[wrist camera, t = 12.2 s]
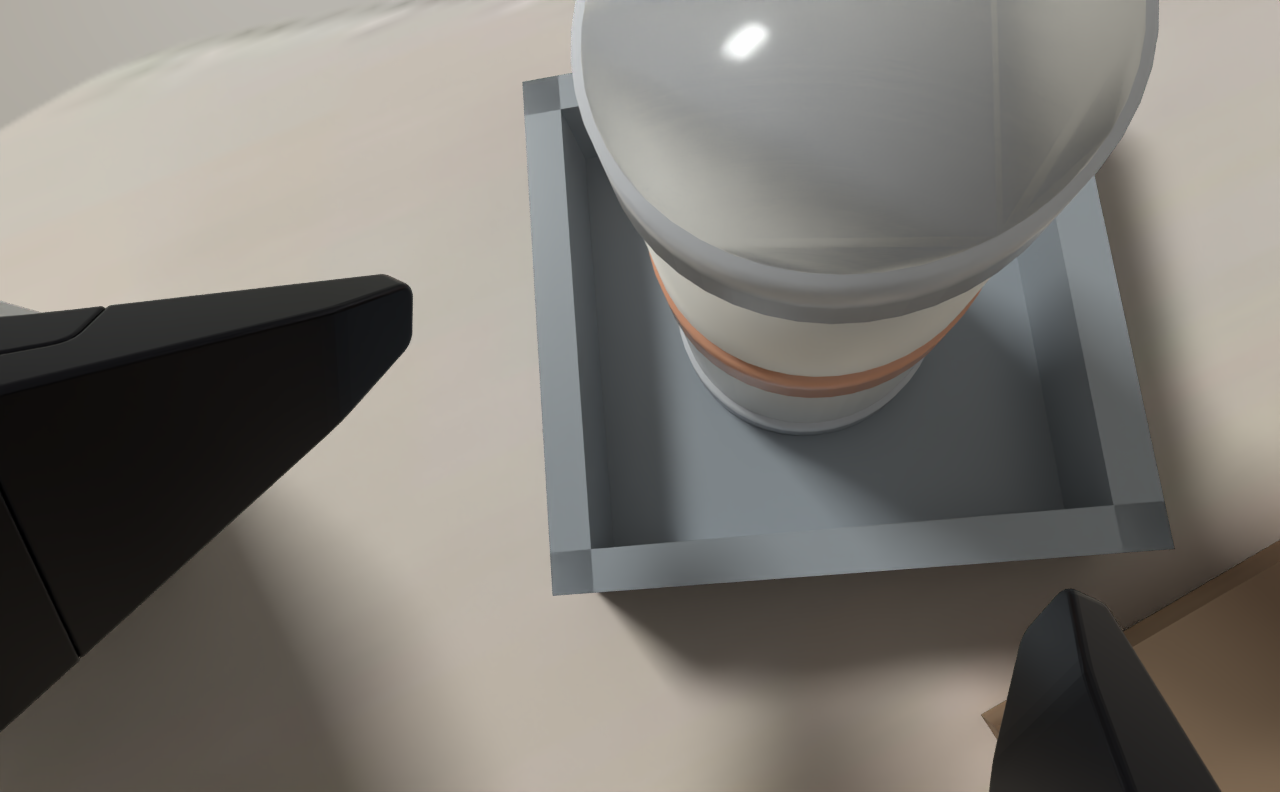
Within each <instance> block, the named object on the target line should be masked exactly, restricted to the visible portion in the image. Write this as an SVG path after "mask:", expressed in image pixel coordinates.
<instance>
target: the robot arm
mask: <svg viewBox="0 0 1280 792" xmlns="http://www.w3.org/2000/svg"><path fill="white" fill-rule="evenodd" d="M412 316H413V294H412V290H411V288H410V287H409V286H408V285H407V284H406V283H404V282H402V281H400V280H397V279H395V278H393V277H391V276H388V275H384V274H379V275H370V276H361V277H353V278H344V279H335V280H327V281H318V282H309V283H301V284H292V285H283V286H274V287H266V288H257V289H248V290H240V291H231V292H222V293H214V294H205V295H196V296H188V297H179V298H170V299H161V300H153V301H144V302H135V303H127V304H118V305H110V306H108V307H107V308H104V307H102V306H99V307H91V308H82V309H74V310H64V311H54V312H45V313H35V314H25V315H13V316H0V732H1V731H2V730H3V729H4V728H6V727H7V726H8V725H9V724H10V723H11V722H12V721H13V720H14V719H15V718H17V717H18V716H19V715H20V714H21V713H22V712H23V711H24V710H25V709H26V708H28V707H29V706H30V705H31V704H32V703H33V702H34V701H35V700H36V699H38V698H39V697H40V696H41V695H42V694H43V693H44V692H45V691H46V690H47V689H49V688H50V687H51V686H52V685H53V684H54V683H55V682H56V681H57V680H58V679H60V678H61V677H62V676H63V675H64V674H65V673H66V672H67V671H68V670H70V669H71V668H72V667H73V666H74V665H75V664H76V663H77V662H78V661H79V659H80V658H79V657H83V656H84V655H85V654H87V653H88V652H89V651H90V650H91V649H92V648H93V647H94V646H95V645H96V644H98V643H99V642H100V641H101V640H102V639H103V638H104V637H105V636H106V635H108V634H109V633H110V632H111V631H112V630H113V629H114V628H115V627H116V626H117V625H119V624H120V623H121V622H122V621H123V620H124V619H125V618H126V617H127V616H128V615H130V614H131V613H132V612H133V611H134V610H135V609H136V608H137V607H138V606H139V605H141V604H142V603H143V602H144V601H145V600H146V599H147V598H148V597H149V596H150V595H152V594H153V593H154V592H155V591H156V590H157V589H158V588H159V587H160V586H162V585H163V584H164V583H165V582H166V581H167V580H168V579H169V578H170V577H171V576H173V575H174V574H175V573H176V572H177V571H178V570H179V569H180V568H181V567H182V566H184V565H185V564H186V563H187V562H188V561H189V560H190V559H191V558H192V557H193V556H195V555H196V554H197V553H198V552H199V551H200V550H201V549H202V548H203V547H205V546H206V545H207V544H208V543H209V542H210V541H211V540H212V539H213V538H214V537H216V536H217V535H218V534H219V533H220V532H221V531H222V530H223V529H224V528H225V527H227V526H228V525H229V524H230V523H231V522H232V521H233V520H234V519H235V518H236V517H238V516H239V515H240V514H241V513H242V512H243V511H244V510H245V509H246V508H247V507H249V506H250V505H251V504H252V503H253V502H254V501H255V500H256V499H257V498H259V497H260V496H261V495H262V494H263V493H264V492H265V491H266V490H267V489H268V488H270V487H271V486H272V485H273V484H274V483H275V482H276V481H277V480H278V479H279V478H281V477H282V476H283V475H284V474H285V473H286V472H287V471H288V470H289V469H290V468H292V467H293V466H294V465H295V464H296V463H297V462H298V461H299V460H300V459H301V458H303V457H304V456H305V455H306V454H307V453H308V452H309V451H310V450H311V449H313V448H314V447H315V446H316V445H317V444H318V443H319V442H320V441H321V440H322V439H324V438H325V437H326V436H327V435H328V434H329V433H330V432H331V431H332V430H333V429H334V428H335V427H336V426H337V425H338V424H339V423H341V422H342V420H343V419H344V418H345V417H346V416H347V415H348V414H349V413H350V412H351V411H352V410H353V409H354V408H355V407H356V405H357V404H358V403H359V402H360V401H361V400H362V399H363V397H364V396H365V395H366V394H367V393H368V392H369V391H370V390H371V388H372V387H373V386H374V385H375V384H376V383H377V382H378V381H379V379H380V378H381V377H382V376H383V375H384V374H385V373H386V372H387V370H388V369H389V368H390V367H391V366H392V365H393V364H394V363H395V361H396V360H397V359H398V358H399V357H400V356H401V355H402V353H403V352H404V351H405V350H406V348H407V347H408V345H409V343H410V341H411V337H412ZM989 792H1222V791H1221V790H1220V788H1219V786H1218V785H1217V783H1216V781H1215V780H1214V778H1213V777H1212V775H1211V773H1210V772H1209V770H1208V768H1207V767H1206V765H1205V764H1204V762H1203V760H1202V759H1201V757H1200V756H1199V754H1198V752H1197V751H1196V749H1195V747H1194V746H1193V744H1192V743H1191V741H1190V739H1189V738H1188V736H1187V735H1186V733H1185V731H1184V730H1183V728H1182V726H1181V725H1180V723H1179V722H1178V720H1177V718H1176V717H1175V715H1174V714H1173V712H1172V710H1171V709H1170V707H1169V705H1168V704H1167V702H1166V701H1165V699H1164V697H1163V696H1162V694H1161V692H1160V691H1159V689H1158V688H1157V686H1156V684H1155V683H1154V681H1153V680H1152V678H1151V676H1150V675H1149V673H1148V671H1147V670H1146V668H1145V667H1144V665H1143V663H1142V662H1141V660H1140V659H1139V657H1138V655H1137V654H1136V652H1135V650H1134V649H1133V647H1132V646H1131V644H1130V642H1129V641H1128V639H1127V638H1126V636H1125V634H1124V633H1123V631H1122V629H1121V628H1120V626H1119V625H1118V623H1117V621H1116V620H1115V618H1114V616H1113V615H1112V613H1111V612H1110V610H1109V609H1108V607H1107V606H1106V605H1105V604H1104V603H1102V602H1100V601H1098V600H1096V599H1094V598H1092V597H1090V596H1087V595H1085V594H1083V593H1081V592H1079V591H1076V590H1074V589H1065V590H1063V591H1061V592H1060V593H1059V594H1058V595H1057V596H1056V597H1055V598H1054V599H1053V600H1052V601H1051V602H1050V604H1049V605H1048V606H1047V607H1046V608H1045V609H1044V610H1043V611H1042V613H1041V614H1040V615H1039V616H1038V617H1037V618H1036V619H1035V620H1034V622H1033V623H1032V624H1031V625H1030V626H1029V627H1028V629H1027V630H1026V632H1025V633H1024V635H1023V637H1022V640H1021V642H1020V646H1019V649H1018V654H1017V658H1016V662H1015V666H1014V671H1013V675H1012V679H1011V684H1010V688H1009V692H1008V696H1007V701H1006V705H1005V709H1004V713H1003V718H1002V722H1001V726H1000V731H999V735H998V739H997V744H996V748H995V753H994V758H993V764H992V772H991V780H990V789H989Z"/></svg>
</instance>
